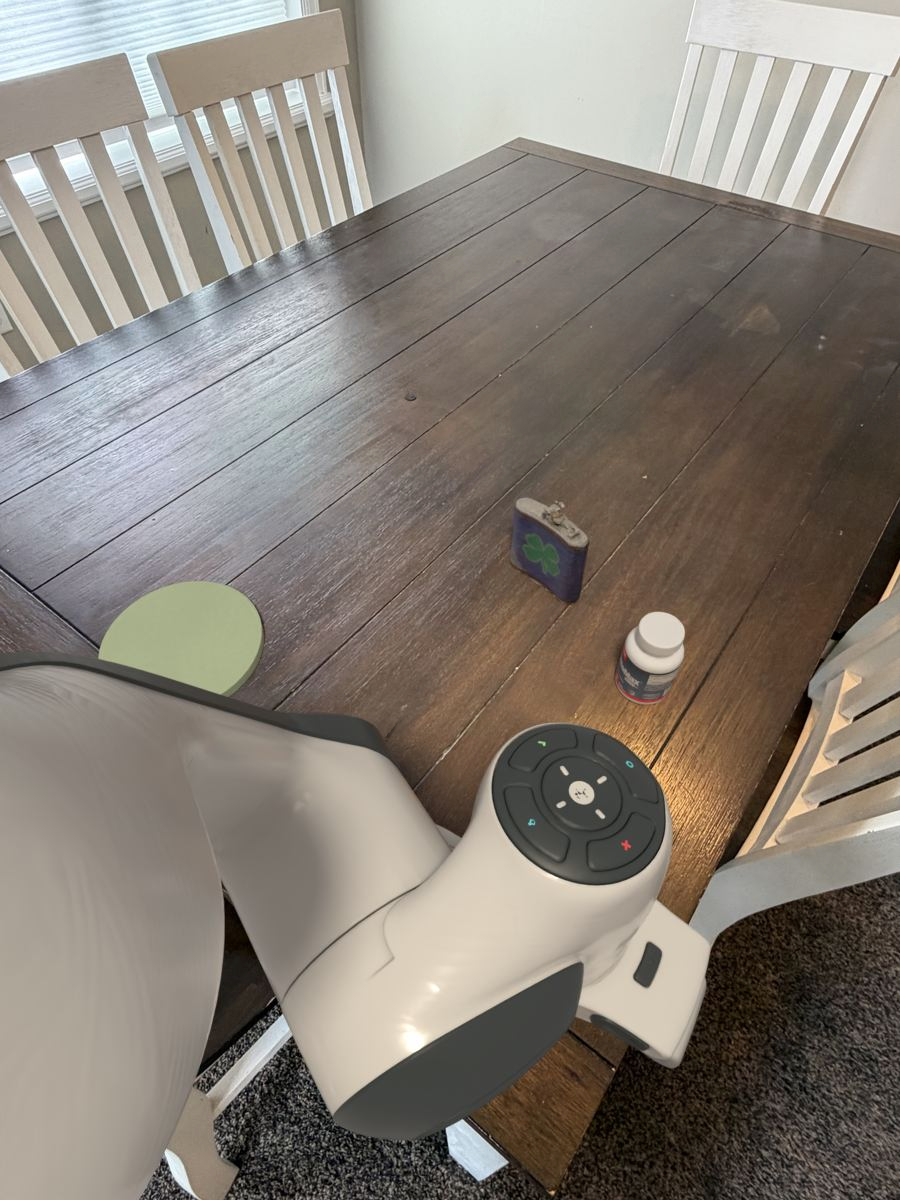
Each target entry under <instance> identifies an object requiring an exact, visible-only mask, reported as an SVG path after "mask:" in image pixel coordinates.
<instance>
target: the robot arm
mask: <svg viewBox="0 0 900 1200" xmlns="http://www.w3.org/2000/svg"><path fill="white" fill-rule="evenodd" d="M673 834H674V827H673V819H672V814H671V810H670V805H669V802H668V799H667V795H666V794H665V791H664V789H663V787H662V785H661V784H660V782H659V781H658V779H657V777H656V776H655V774H654V773H653V771H652V770H651V769H650V767H649V766H648V765H647V764H646V763H645V762H644V761H643V760H642V759H641V757H639V756H638V755H637V754H636V753H635V752H634V751H633V750H631V748H629V747H628V746H627V745H626V744H624V743H623V742H622V741H620V740H619V739H617V738H616V737H614V736H612V735H610V734H608V733H606V732H604V731H601V730H598V729H596V728H593V727H590V726H586V725H582V724H578V723H571V722H559V721H556V722H544V723H539V724H536V725H532V726H530V727H527V728H525V729H523V730H521V731H519V732H517V733H515V734H514V735H513V736H512V737H510V738H509V739H508V740H507V741H506V742H505V743H504V744H502V746H501V747H500V748H499V750H497V752H496V753H495V755H494V756H493V757H492V759H491V761H490V762H489V764H488V767H487V768H486V770H485V772H484V775H483V776H482V779H481V781H480V784H479V787H478V790H477V793H476V795H475V798H474V804H473V806H472V812H471V817H470V822H469V824H468V826H467V828H466V830H465V832H464V834H463V835H462V837H461V836H459V835H457V834H455V832H452V831H451V830H449V829H447V828H445V827H443V826H441V825H438V824H436V823H435V822H434V820H433V819H432V817H431V816H430V814H429V813H428V811H427V810H426V809H425V806H423V804H422V802H421V801H420V799H419V798H418V797H417V795H416V794H415V792H414V790H413V789H412V788H411V786H410V785H409V783H408V782H407V778H406V776H405V774H404V772H403V769H402V768H401V766H400V764H399V763H398V761H397V759H396V758H395V755H394V754H393V752H392V750H391V748H390V746H389V745H388V744H387V741H386V740H385V738H384V736H383V734H382V733H381V731H380V730H379V728H377V726H375V725H374V724H372V723H371V722H369V721H368V720H365V719H363V718H360V717H357V716H353V715H347V714H342V713H335V712H323V711H319V712H317V711H316V712H315V711H313V712H284V711H278V710H274V709H273V710H272V709H268V708H264V707H260V706H259V705H258V706H257V705H256V704H252V703H249V702H245V701H242V700H239V699H236V698H232V697H231V696H229V697H227V696H223V695H220V694H217V693H214V692H211V691H208V690H205V689H201V688H198V687H195V686H192V685H189V684H186V683H183V682H179V681H176V680H173V679H170V678H167V677H164V676H160V675H157V674H154V673H150V672H147V671H144V670H140V669H137V668H133V667H129V666H126V665H122V664H118V663H114V662H110V661H106V660H101V659H98V658H96V657H92V656H86V655H80V654H73V653H66V652H57V651H42V650H41V651H39V650H38V651H14V652H5V653H0V1200H140V1199H141V1198H142V1196H143V1194H144V1193H145V1191H146V1189H147V1187H148V1185H149V1183H150V1182H151V1180H152V1178H153V1176H154V1174H155V1173H156V1170H157V1168H158V1166H159V1164H160V1163H161V1161H162V1159H163V1157H164V1154H165V1152H166V1150H167V1148H168V1146H169V1144H170V1141H171V1140H172V1137H173V1135H174V1133H175V1131H176V1128H177V1127H178V1124H179V1122H180V1119H181V1116H182V1114H183V1112H184V1110H185V1107H186V1105H187V1102H188V1100H189V1098H190V1096H191V1092H192V1090H193V1087H194V1084H195V1081H196V1078H197V1075H198V1073H199V1070H200V1066H201V1064H202V1061H203V1059H204V1058H203V1057H204V1053H205V1051H206V1047H207V1044H208V1040H209V1036H210V1034H211V1030H212V1025H213V1021H214V1017H215V1012H216V1008H217V1003H218V997H219V993H220V992H219V991H220V986H221V980H222V972H223V964H224V951H225V927H226V926H225V924H226V923H225V922H226V921H225V899H224V891H223V887H224V889H225V890H226V892H227V895H228V896H229V898H230V901H231V903H232V904H233V907H234V909H235V911H236V914H237V915H238V917H239V920H240V923H241V924H242V927H243V928H244V931H245V933H246V935H247V937H248V939H249V941H250V943H251V946H252V948H253V950H254V952H255V955H256V956H257V959H258V961H259V963H260V965H261V967H262V970H263V972H264V974H265V976H266V979H267V980H268V982H269V984H270V987H271V989H272V991H273V993H274V996H275V998H276V1000H277V1003H278V1004H279V1006H280V1008H281V1013H282V1015H283V1017H284V1019H285V1022H286V1024H287V1026H288V1028H289V1030H290V1033H291V1035H292V1037H293V1039H294V1041H295V1044H296V1046H297V1048H298V1050H299V1053H300V1054H301V1057H302V1059H303V1061H304V1064H305V1065H306V1068H307V1069H308V1071H309V1073H310V1075H311V1077H312V1079H313V1082H314V1083H315V1085H316V1088H317V1089H318V1091H319V1094H320V1096H321V1098H322V1100H323V1102H324V1104H325V1106H326V1108H327V1110H328V1111H329V1114H330V1115H331V1117H332V1122H333V1123H334V1124H336V1125H338V1126H339V1127H341V1128H342V1129H345V1130H347V1131H349V1132H351V1133H354V1134H357V1135H360V1136H365V1137H368V1138H374V1139H382V1140H392V1141H410V1142H414V1141H418V1140H421V1139H424V1138H427V1137H430V1136H432V1135H435V1134H436V1133H439V1132H441V1131H443V1130H445V1129H447V1128H449V1127H452V1126H453V1125H455V1124H457V1123H459V1122H461V1121H462V1120H464V1119H465V1118H468V1117H469V1116H471V1115H472V1114H475V1112H477V1111H478V1110H480V1109H481V1108H483V1107H484V1106H486V1105H487V1104H489V1103H490V1102H492V1101H493V1100H495V1099H496V1098H497V1097H498V1096H500V1095H502V1094H503V1093H504V1092H505V1091H506V1090H508V1089H509V1088H510V1087H511V1086H512V1085H514V1084H515V1083H516V1082H518V1081H519V1080H520V1079H521V1078H522V1077H523V1076H524V1075H526V1074H527V1073H528V1072H529V1071H530V1070H531V1069H532V1068H533V1067H534V1066H535V1065H536V1064H538V1063H539V1062H540V1060H541V1059H542V1058H544V1057H545V1055H547V1054H548V1053H549V1052H550V1051H551V1049H553V1047H555V1046H556V1044H557V1043H559V1041H560V1040H561V1039H562V1038H563V1036H564V1035H565V1034H566V1033H567V1031H569V1029H570V1028H571V1027H572V1025H573V1024H574V1022H575V1020H576V1018H577V1019H580V1020H583V1021H585V1022H588V1023H591V1024H592V1026H594V1027H596V1028H598V1029H601V1030H603V1032H607V1033H608V1034H610V1035H612V1036H614V1037H616V1038H618V1039H619V1040H621V1041H623V1042H624V1043H626V1044H628V1045H630V1046H631V1047H633V1048H635V1049H636V1050H638V1051H640V1052H641V1053H642V1054H644V1055H646V1056H647V1057H648V1058H649V1059H651V1060H653V1061H654V1062H656V1063H658V1064H659V1065H661V1066H663V1067H666V1068H668V1069H676V1068H678V1067H679V1066H680V1064H681V1063H682V1062H683V1061H682V1060H683V1059H684V1055H685V1052H686V1050H687V1047H688V1045H689V1042H690V1039H691V1036H692V1034H693V1030H694V1028H695V1026H696V1023H697V1019H698V1017H699V1013H700V1011H701V1008H702V1004H703V1001H704V998H705V995H706V991H707V979H706V973H707V969H708V965H709V961H710V956H711V951H712V945H711V944H710V942H709V940H708V939H707V938H706V937H705V936H703V934H702V933H700V932H699V931H698V930H696V929H694V927H692V926H691V925H689V924H688V923H687V922H686V921H684V920H683V919H682V918H680V917H679V916H678V915H676V914H675V913H674V912H673V911H672V910H670V909H669V908H668V907H667V906H666V905H664V904H663V903H662V902H660V900H659V899H658V896H659V895H660V892H661V890H662V888H663V885H664V882H665V879H666V876H667V874H668V871H669V870H668V869H669V867H670V862H671V857H672V852H673V844H674V839H673V838H674V835H673ZM222 885H223V886H222Z"/></svg>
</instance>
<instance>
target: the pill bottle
mask: <svg viewBox="0 0 900 1200" xmlns="http://www.w3.org/2000/svg"><path fill="white" fill-rule="evenodd" d="M685 637H686V630H685V627H684V625H683V623H682V621H680V619H678V618H677V617H676V616H675V615H673V614H671V613H668V612H664V611H652V612H649V613H647V614H645V615H644V616H643V617H642V618H641V619H640V620H639V623H638V625H637V626H635V627H634V628H633V629H632V630H631V631H630V632H629V633H628V635H627V636H626V638H625V641H624V645H623V648H622V651H621V654H620V658H619V661H618V664H617V667H616V670H615V676H614V680H615V685H616V687H617V689H618V691H619V692H620V694H621V695H622V696H623V697H624V698H626V699H627V700H628V701H630V702H632V703H635V704H638V705H642V706H643V705H644V706H646V705H647V706H649V705H654V704H658V703H660V702H662V701H663V700H664V699H665V698H666V697H667V696H668V694H669V692H670V691H671V688H672V686H673V684H674V682H675V679H676V677H677V675H678V673H679V670H680V668H681V666H682V663H683V661H684V657H685V646H684V640H685Z"/></svg>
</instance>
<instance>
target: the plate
mask: <svg viewBox="0 0 900 1200" xmlns="http://www.w3.org/2000/svg"><path fill="white" fill-rule="evenodd" d="M264 647H265V631H264V625H263V622H262V619H261V616H260V614H259V612H258V610H257V608H256V606H255V604H254V603H253V602H252V601H251V600H250V599H249V598H248V597H247V596H246V595H244V593H242V592H241V591H239V590H237V589H236V588H234V587H231V586H229V585H226V584H224V583H220V582H214V581H207V580H189V581H182V582H181V581H180V582H178V583H177V582H176V583H173V584H169V585H165V586H163V587H159V588H158V589H155V590H153V591H151V592H149V593H147V594H145V595H143V596H141V597H140V598H138V599H137V600H135V601H133V602H132V603H131V604H130V605H129V606H128V607H125V609H123V610H122V611H121V613H120V614H119V615H118V616H117V617H116V618H115V619H114V620H113V622H112V623H111V624H110V626H109V627H108V629H107V631H106V632H105V634H104V636H103V639H102V640H101V643H100V647H99V651H98V656H97V659H101V660H106V661H110V662H114V663H118V664H122V665H126V666H129V667H133V668H137V669H140V670H144V671H147V672H150V673H154V674H157V675H160V676H164V677H167V678H170V679H173V680H176V681H179V682H183V683H186V684H189V685H192V686H195V687H198V688H201V689H205V690H208V691H211V692H214V693H217V694H220V695H223V696H227V697H231V696H233V694H235V693H236V692H237V691H238V690H240V688H241V687H243V685H244V684H246V682H247V681H248V680H249V679H250V677H251V676H252V674H253V673H254V671H255V669H256V668H257V667H258V664H259V662H260V660H261V657H262V654H263V651H264Z"/></svg>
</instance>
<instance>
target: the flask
mask: <svg viewBox="0 0 900 1200" xmlns="http://www.w3.org/2000/svg"><path fill="white" fill-rule="evenodd" d="M557 504H558V505H557ZM565 507H566V506H565V504H564V502H562V501H557V500H554V503H553V504H551V505H550V506H548V505H546V504H543V503H542V502H540V501H538V500H535V499H533V498H531V497H526V496H525V497H521V498H519V499H516V501H515V502H514V505H513V522H512V523H513V525H512V537H511V545H510V554H509V562H510V565H511V566H512V567H513V568H514V569H515V570H516V571H517V572H518V573H522V574H523V575H525V576H526V577H527V578H528V579H529V580H530V581H531V582H532V583H533V584H535V585H537V586H541V587H543V588H544V591H546V592H549V593H551V594H552V596H553V597H554V598H556V599H557V600H558V601H559V602H560V603H561V604H564V605H572V606H574V604H576V603H577V602H579V600H580V598H581V593H582V589H583V588H582V587H583V580H584V574H585V568H586V563H587V557H588V553H589V552H588V551H589V547H590V538H589V537H588V535H587V534H586V533H585V532H584V531H583V530H582V529H581V528H579V526H578V525H577V524H576V523H574V522H573V521H572V520H570V519H569V518H568V517H567V515H566V514H565V513H564V512H562V508H563V509H564V508H565Z"/></svg>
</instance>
